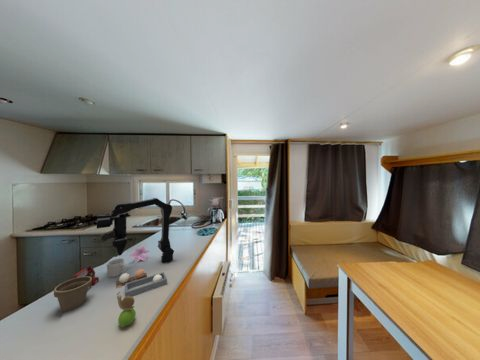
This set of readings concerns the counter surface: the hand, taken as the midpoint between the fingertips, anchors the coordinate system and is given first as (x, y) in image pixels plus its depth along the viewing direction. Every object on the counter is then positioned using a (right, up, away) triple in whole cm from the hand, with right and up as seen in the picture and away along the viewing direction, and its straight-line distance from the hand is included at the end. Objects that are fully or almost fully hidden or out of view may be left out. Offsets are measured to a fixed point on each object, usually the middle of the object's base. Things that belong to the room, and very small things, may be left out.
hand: (120, 252), depth 92 cm
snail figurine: (+25, -13, -31) cm, 42 cm away
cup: (-2, -14, +1) cm, 14 cm away
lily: (-1, -15, +19) cm, 24 cm away
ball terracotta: (+13, -13, -3) cm, 19 cm away
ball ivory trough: (+25, -13, -7) cm, 29 cm away
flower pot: (-3, -13, -23) cm, 26 cm away
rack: (+10, -14, -5) cm, 18 cm away
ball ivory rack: (+7, -13, -7) cm, 16 cm away
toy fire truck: (-10, -14, -11) cm, 20 cm away
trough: (+21, -14, -10) cm, 27 cm away
